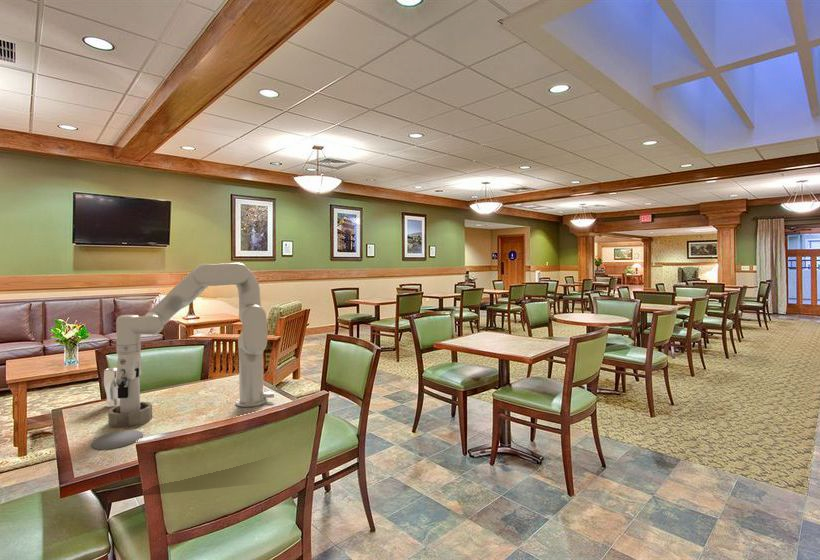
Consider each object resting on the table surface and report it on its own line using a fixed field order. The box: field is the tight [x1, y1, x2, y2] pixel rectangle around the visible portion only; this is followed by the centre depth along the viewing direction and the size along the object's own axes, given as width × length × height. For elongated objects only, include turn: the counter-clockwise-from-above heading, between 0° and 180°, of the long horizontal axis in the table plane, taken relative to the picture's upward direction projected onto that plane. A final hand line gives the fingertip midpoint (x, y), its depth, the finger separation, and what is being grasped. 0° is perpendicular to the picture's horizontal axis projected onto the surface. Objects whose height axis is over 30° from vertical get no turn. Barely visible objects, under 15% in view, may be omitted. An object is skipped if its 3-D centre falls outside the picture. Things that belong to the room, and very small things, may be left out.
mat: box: [91, 429, 144, 450], centre depth 142 cm, size 14×14×1 cm
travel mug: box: [120, 368, 141, 413], centre depth 158 cm, size 6×7×20 cm
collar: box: [107, 401, 153, 429], centre depth 159 cm, size 13×13×5 cm
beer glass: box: [103, 366, 120, 408], centre depth 176 cm, size 7×7×15 cm
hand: (128, 393), depth 158 cm, fingers open, 9 cm apart
